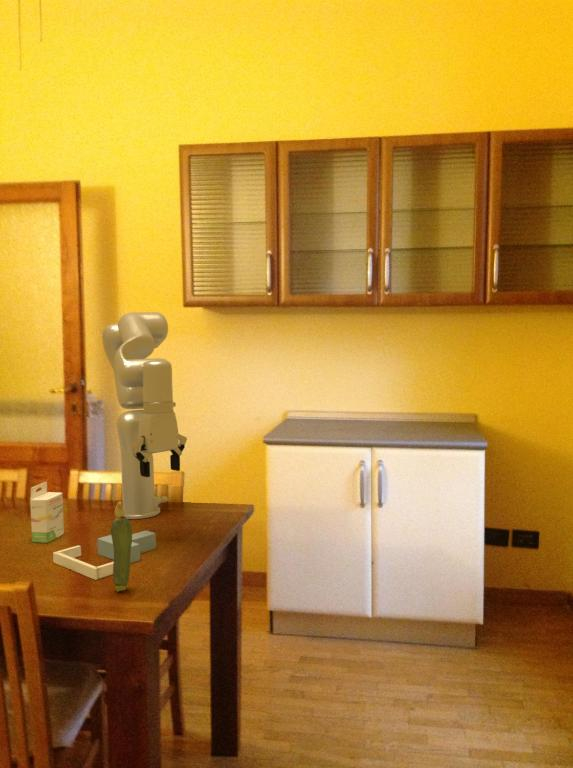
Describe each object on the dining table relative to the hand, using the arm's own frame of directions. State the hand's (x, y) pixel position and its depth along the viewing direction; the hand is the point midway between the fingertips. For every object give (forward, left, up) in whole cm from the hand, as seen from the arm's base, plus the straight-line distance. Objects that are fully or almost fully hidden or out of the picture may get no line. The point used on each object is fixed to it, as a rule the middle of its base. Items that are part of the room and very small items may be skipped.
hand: (160, 473), depth 180 cm
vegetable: (+26, +19, -19) cm, 37 cm away
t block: (+10, 0, -19) cm, 21 cm away
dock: (+23, 0, -19) cm, 30 cm away
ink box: (+17, -28, -19) cm, 38 cm away
